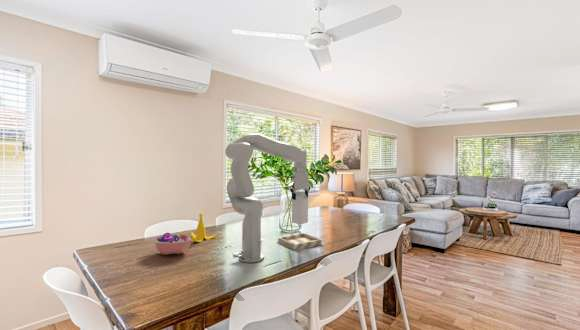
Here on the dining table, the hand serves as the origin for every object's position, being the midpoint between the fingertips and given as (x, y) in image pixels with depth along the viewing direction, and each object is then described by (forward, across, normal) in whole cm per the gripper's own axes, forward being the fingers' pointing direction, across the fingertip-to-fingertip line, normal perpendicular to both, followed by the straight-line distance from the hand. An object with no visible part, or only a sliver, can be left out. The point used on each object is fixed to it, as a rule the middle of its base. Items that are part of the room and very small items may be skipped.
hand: (300, 198), depth 170 cm
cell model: (+28, -68, +23) cm, 77 cm away
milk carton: (+15, 0, 0) cm, 15 cm away
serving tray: (+27, 0, 0) cm, 27 cm away
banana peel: (+28, -45, +41) cm, 67 cm away
